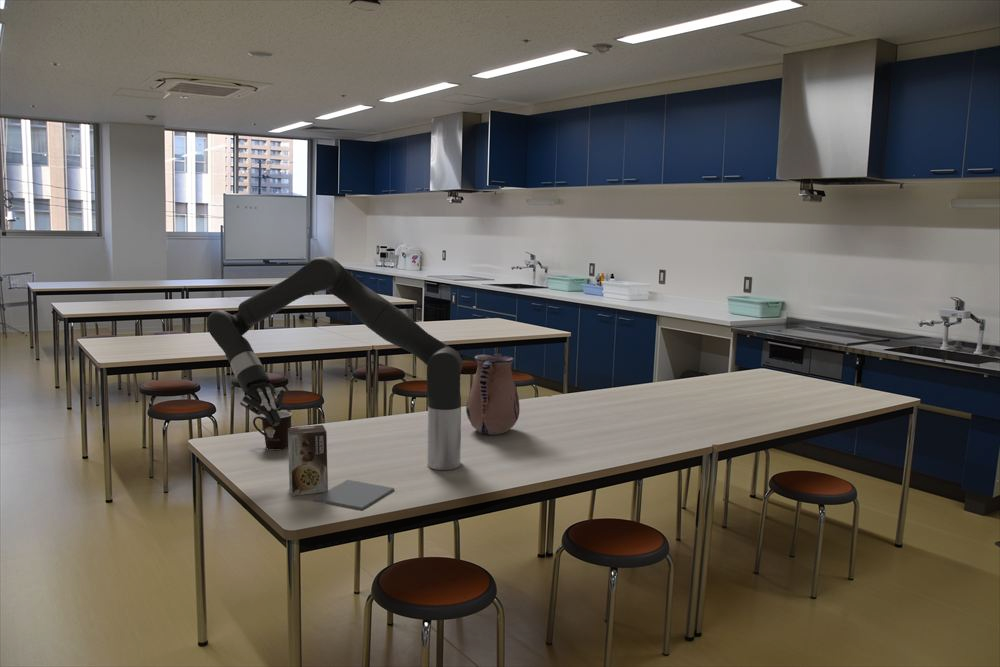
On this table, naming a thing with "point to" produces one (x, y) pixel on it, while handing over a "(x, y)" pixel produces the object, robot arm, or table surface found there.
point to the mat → (354, 494)
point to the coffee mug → (276, 431)
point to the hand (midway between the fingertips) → (276, 424)
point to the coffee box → (307, 460)
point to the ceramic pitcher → (493, 395)
